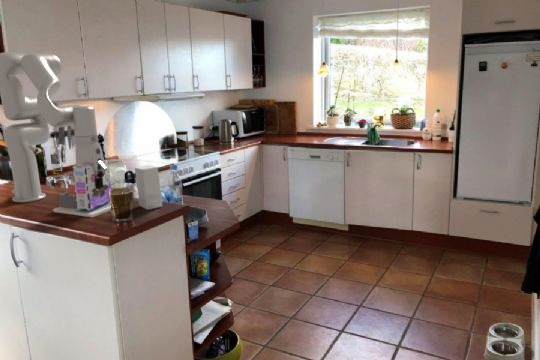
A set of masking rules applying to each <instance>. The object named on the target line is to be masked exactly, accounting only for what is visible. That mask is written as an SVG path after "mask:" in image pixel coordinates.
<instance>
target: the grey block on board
mask: <svg viewBox="0 0 540 360" xmlns="http://www.w3.org/2000/svg"><path fill="white" fill-rule="evenodd" d="M68 194H69V192H64V193H59V195H58V198H59V199H58V200H59V207H56V208H53V209H52V211H53V213H57V214H59V213H60V214H66V215H72V216H82V217H87V218H95V217H97V216H100V215H102V214H105V213H108V212H110V211H112V210H111V205H110V202H111V201H110V202H108V203H106V204H103V205H101V206H99V207H96V208H94V209H92V210H80V209H77V205H76V196H73V195H68Z"/></svg>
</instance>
